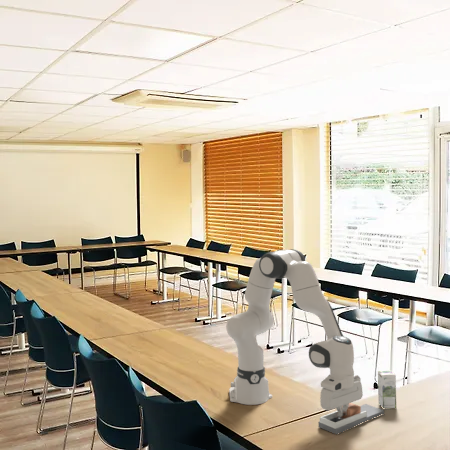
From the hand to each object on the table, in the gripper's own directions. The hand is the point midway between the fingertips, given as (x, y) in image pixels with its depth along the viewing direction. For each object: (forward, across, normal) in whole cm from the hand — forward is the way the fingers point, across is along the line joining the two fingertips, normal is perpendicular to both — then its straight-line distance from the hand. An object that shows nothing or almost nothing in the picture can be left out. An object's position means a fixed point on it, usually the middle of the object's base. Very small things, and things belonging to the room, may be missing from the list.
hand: (342, 415), depth 217 cm
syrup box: (+4, -28, 0) cm, 28 cm away
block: (+2, -5, 0) cm, 5 cm away
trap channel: (+4, -6, 0) cm, 7 cm away
